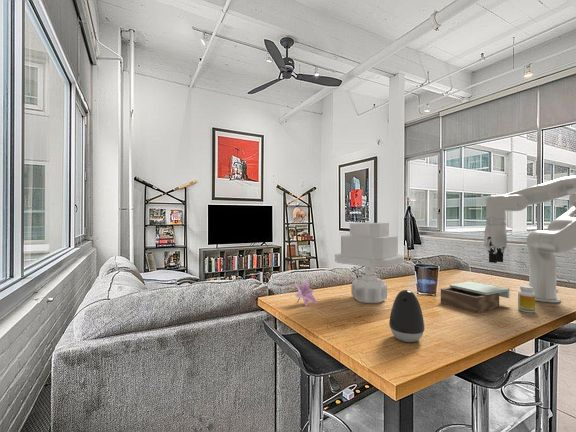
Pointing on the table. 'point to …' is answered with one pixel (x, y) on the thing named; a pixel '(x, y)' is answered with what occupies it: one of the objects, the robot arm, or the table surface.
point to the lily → (305, 293)
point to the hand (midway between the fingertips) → (496, 261)
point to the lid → (482, 288)
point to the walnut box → (469, 300)
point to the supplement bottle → (526, 299)
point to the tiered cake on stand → (369, 258)
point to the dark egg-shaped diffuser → (406, 317)
